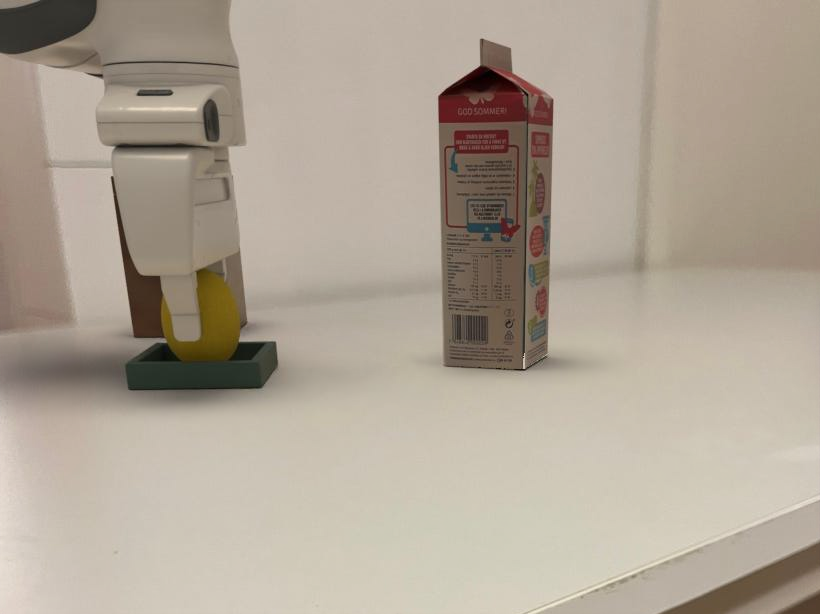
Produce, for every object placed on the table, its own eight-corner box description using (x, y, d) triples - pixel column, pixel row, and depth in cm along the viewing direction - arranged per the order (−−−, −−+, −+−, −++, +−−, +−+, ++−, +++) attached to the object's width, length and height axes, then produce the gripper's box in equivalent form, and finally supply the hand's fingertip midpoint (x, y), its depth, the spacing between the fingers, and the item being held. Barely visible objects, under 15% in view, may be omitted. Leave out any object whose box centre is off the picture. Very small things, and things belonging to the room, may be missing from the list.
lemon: (162, 373, 76) (147, 261, 73) (234, 367, 79) (223, 257, 75) (178, 386, 72) (162, 267, 68) (254, 379, 74) (243, 263, 71)
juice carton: (443, 365, 79) (437, 40, 70) (471, 351, 85) (468, 49, 75) (524, 370, 77) (529, 36, 68) (547, 355, 83) (554, 46, 73)
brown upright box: (133, 337, 93) (110, 176, 87) (156, 323, 101) (136, 175, 95) (232, 336, 93) (215, 175, 88) (247, 322, 101) (232, 174, 96)
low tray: (128, 389, 71) (124, 363, 70) (159, 366, 79) (155, 342, 78) (261, 387, 71) (258, 361, 70) (278, 364, 80) (276, 341, 79)
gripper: (165, 124, 77) (188, 312, 83) (85, 110, 59) (122, 354, 65) (248, 124, 78) (265, 311, 83) (194, 110, 59) (221, 352, 65)
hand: (202, 330), depth 74 cm, fingers open, 8 cm apart
